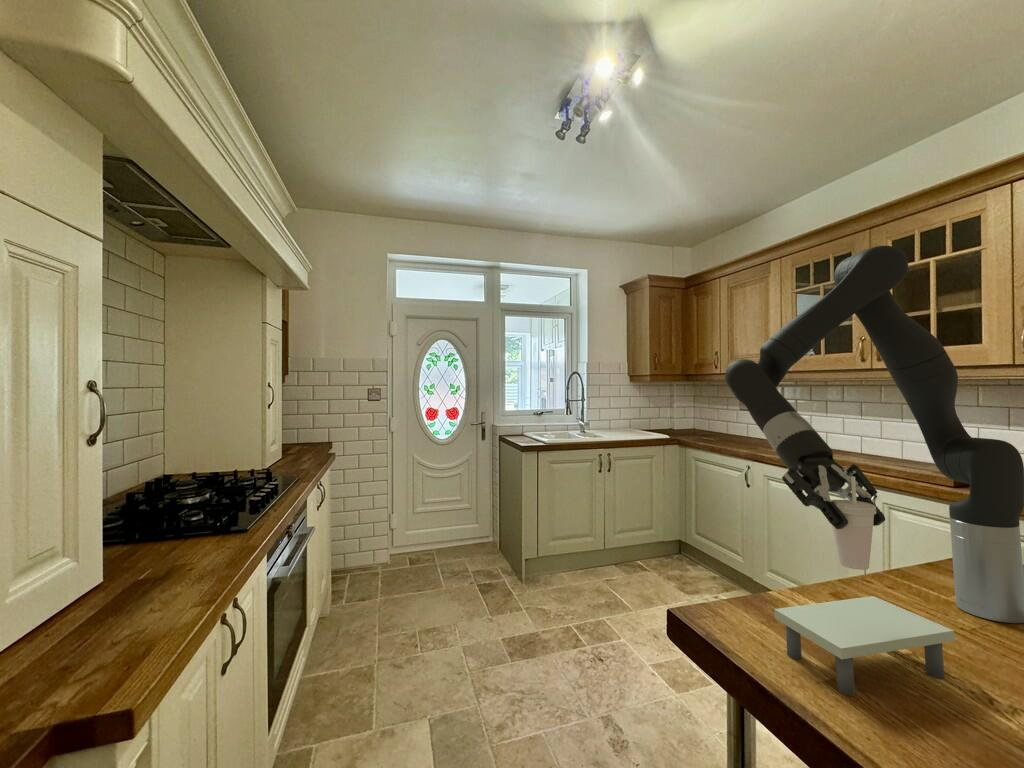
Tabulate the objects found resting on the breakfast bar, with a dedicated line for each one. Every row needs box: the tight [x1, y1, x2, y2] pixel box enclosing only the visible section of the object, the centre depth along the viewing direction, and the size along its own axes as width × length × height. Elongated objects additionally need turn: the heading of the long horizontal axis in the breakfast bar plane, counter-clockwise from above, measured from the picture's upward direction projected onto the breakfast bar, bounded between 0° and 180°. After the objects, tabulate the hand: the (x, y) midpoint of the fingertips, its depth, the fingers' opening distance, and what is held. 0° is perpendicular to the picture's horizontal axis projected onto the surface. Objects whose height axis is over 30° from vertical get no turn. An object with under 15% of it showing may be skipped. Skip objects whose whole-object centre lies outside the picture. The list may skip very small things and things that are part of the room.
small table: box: [774, 595, 956, 697], centre depth 69 cm, size 20×12×7 cm, turn 101°
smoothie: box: [829, 476, 877, 571], centre depth 70 cm, size 6×6×14 cm
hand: (861, 524), depth 68 cm, fingers closed on smoothie, 6 cm apart
